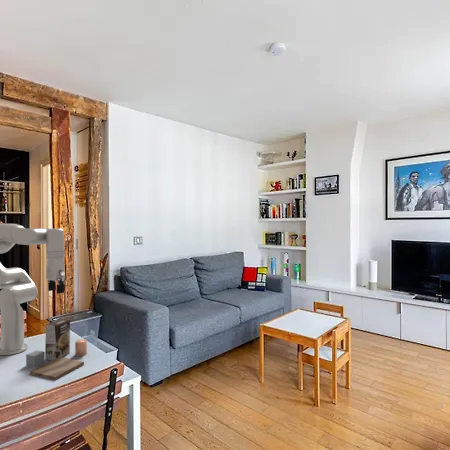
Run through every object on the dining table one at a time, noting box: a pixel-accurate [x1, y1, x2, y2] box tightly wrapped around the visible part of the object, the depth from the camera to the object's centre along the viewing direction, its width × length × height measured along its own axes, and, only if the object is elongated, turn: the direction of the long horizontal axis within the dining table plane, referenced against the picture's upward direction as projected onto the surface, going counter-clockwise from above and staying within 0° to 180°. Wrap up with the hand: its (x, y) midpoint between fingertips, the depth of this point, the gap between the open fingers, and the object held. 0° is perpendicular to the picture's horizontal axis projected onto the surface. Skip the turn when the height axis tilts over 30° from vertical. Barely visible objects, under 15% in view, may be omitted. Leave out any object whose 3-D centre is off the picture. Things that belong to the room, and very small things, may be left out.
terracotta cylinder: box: [74, 339, 88, 357], centre depth 153 cm, size 5×5×6 cm
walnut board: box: [29, 357, 85, 381], centre depth 137 cm, size 14×15×1 cm
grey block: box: [25, 349, 46, 369], centre depth 141 cm, size 5×5×5 cm
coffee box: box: [44, 318, 71, 361], centre depth 150 cm, size 9×6×16 cm
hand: (56, 291), depth 149 cm, fingers open, 9 cm apart
